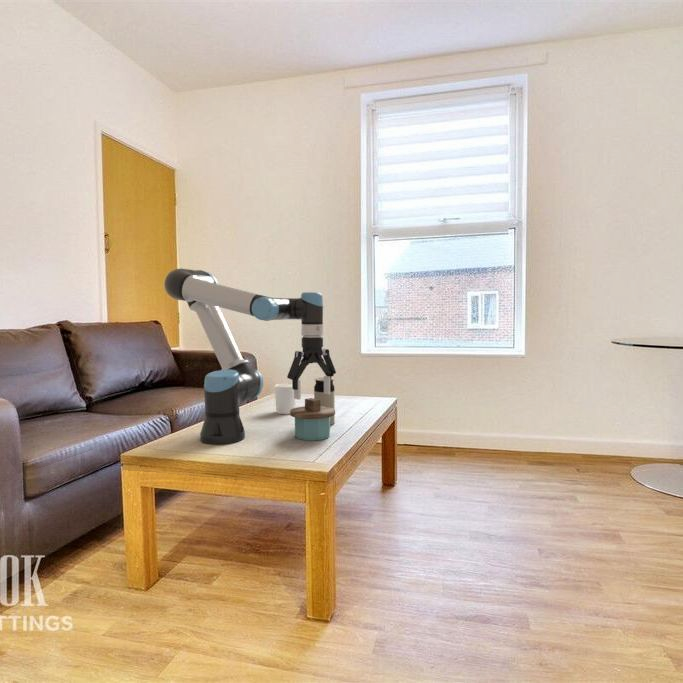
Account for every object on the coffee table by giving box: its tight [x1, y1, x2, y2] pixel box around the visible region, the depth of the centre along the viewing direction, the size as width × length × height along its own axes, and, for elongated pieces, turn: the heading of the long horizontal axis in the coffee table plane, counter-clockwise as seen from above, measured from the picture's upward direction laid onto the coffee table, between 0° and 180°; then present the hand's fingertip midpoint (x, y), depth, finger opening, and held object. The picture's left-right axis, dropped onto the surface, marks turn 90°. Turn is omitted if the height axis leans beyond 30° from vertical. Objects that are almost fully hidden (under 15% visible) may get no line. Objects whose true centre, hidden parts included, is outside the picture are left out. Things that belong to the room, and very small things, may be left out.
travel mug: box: [313, 376, 336, 426], centre depth 185 cm, size 8×8×18 cm
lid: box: [289, 397, 336, 419], centre depth 167 cm, size 16×16×5 cm
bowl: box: [294, 417, 331, 442], centre depth 167 cm, size 12×12×8 cm
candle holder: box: [274, 382, 297, 415], centre depth 206 cm, size 10×10×12 cm
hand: (312, 396), depth 167 cm, fingers open, 13 cm apart
